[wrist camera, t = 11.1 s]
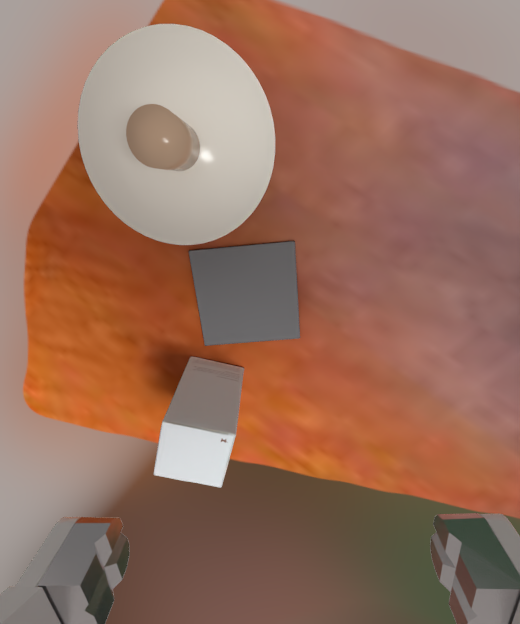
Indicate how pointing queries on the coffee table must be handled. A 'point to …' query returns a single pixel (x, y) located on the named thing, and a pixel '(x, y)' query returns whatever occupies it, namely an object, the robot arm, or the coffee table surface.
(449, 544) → the robot arm
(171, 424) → the supplement box
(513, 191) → the coffee table surface
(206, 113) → the lid
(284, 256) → the mat
